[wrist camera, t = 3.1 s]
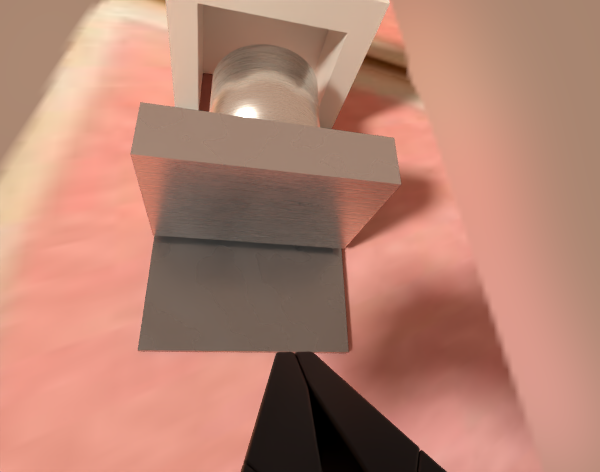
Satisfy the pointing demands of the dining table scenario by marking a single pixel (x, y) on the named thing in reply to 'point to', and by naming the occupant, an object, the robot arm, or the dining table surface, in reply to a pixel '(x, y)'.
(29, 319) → the dining table surface
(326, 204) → the grey piece
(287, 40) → the socket
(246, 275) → the plate
